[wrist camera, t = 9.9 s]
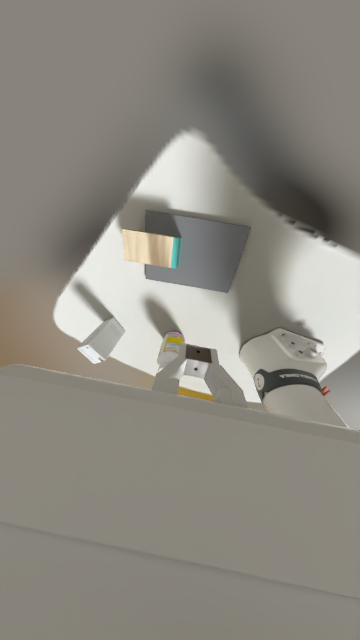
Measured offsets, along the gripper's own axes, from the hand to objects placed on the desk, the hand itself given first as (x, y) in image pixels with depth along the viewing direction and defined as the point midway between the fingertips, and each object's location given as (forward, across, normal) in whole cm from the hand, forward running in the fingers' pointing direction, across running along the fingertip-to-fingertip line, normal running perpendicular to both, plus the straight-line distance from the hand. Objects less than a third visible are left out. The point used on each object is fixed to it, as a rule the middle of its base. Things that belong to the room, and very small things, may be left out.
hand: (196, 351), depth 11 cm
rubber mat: (+24, +2, -4) cm, 25 cm away
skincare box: (+25, +22, +19) cm, 38 cm away
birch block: (+21, +5, -5) cm, 22 cm away
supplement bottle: (+25, +3, +20) cm, 32 cm away
